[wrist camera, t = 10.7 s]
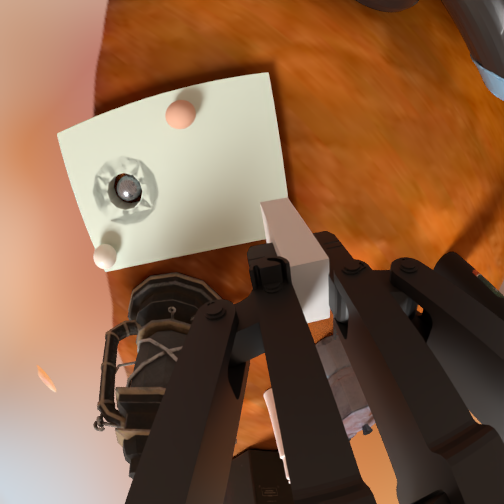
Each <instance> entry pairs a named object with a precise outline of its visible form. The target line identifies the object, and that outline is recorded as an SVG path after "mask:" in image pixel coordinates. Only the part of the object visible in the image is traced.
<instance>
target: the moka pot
mask: <svg viewBox="0 0 504 504" xmlns="http://www.w3.org/2000/svg"><path fill="white" fill-rule="evenodd" d="M316 348H317V351H318V354H319V356H320V359H321V362H322V365H323V367H324V370H325V373H326V376H327V378H328V381H329V384H330V387H331V390H332V393H333V395H334V398H335V401H336V404H337V407H338V410H339V413H340V415H341V418H342V421H343V424H344V427H345V430H346V433H347V436H348V439H349V441H350V440H351V438H352V437H354V436H355V435H356V433H357V432H358V431H361V430H363V434H364V435H367V434H370V433H371V432H372V429H371V426H372V425H373V424H375V420H374V418H373V415H372V413H371V410H370V408H369V406H368V403H367V401H366V398H365V396H364V394H363V391H362V389H361V386H360V384H359V382H358V379H357V377H356V375H355V372H354V370H353V368H352V366H351V363H350V361H349V359H348V356H347V354H346V352H345V350H344V347H343V345H342V343H341V341H340V339H339V336H338V335H337V337H336V340H334V339H333V335H332V336H329V337H326V338H324V339H322V340H321V341H319V342H318V343H317V344H316Z"/></svg>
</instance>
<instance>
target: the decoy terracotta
mask: <svg viewBox="0 0 504 504" xmlns="http://www.w3.org/2000/svg"><path fill="white" fill-rule="evenodd" d="M165 117H166V121H167V123H168V124H169V125H170V126H171V127H173V128H175V129H184V128H187V127H189V126H190V125H191V124H192V123H193V122H194V120H195V117H196V110H195V108H194V106H193V105H192V104H191V103H190V102H188V101H186V100H177V101H175V102H173V103H171V104H170V105H169V106H168V108H167V110H166V114H165Z"/></svg>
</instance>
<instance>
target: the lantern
mask: <svg viewBox="0 0 504 504" xmlns="http://www.w3.org/2000/svg"><path fill="white" fill-rule="evenodd" d="M217 299H222V298H221V297H220V296H219V295H218V294H217V293H216V292H215V291H214V290H213V289H211V288H210V287H209V286H208V285H207V284H206V283H205V282H204V281H203V280H199V279H196V278H193V277H190V276H187V275H183V274H180V273H177V272H175V273H168V274H160V275H153V276H149V277H148V278H147V279H146V280H144V281H143V282H142V283H141V284H139V285H138V286H137V287H136V288H135V289H133V291H132V295H131V299H130V304H129V309H128V311H129V313H128V318H129V321H124V322H122V323H120V324H119V325H117V326H115V327H114V328H112V329H110V330H109V331H108V332H106V334H105V339H106V341H105V349H104V356H103V363H102V364H101V370H102V373H101V383H100V394H99V402H98V406H97V409H98V410H99V411H100V412H101V414H100V416H98V417H97V421H95V422H94V428H95V429H96V430H97V431H103V430H104V429H105V428H104V427H103V426H104V425H106V426H111V427H116V428H115V431H116V436H117V441H118V443H119V444H120V445H121V446H122V447H123V453H124V456H125V460H126V461H127V462H128V463H130V470H129V477H131V478H132V479H133V478H134V475H135V472H136V469H137V466H138V464H139V461H140V458H141V455H142V452H143V449H144V447H145V444H146V441H147V438H148V436H149V433H150V430H151V427H152V425H153V422H154V419H155V417H156V414H157V411H158V409H159V406H160V403H161V401H162V398H163V395H164V393H165V390H166V388H167V385H168V382H169V380H170V377H171V375H172V372H173V369H174V367H175V364H176V362H177V359H178V357H179V354H180V352H181V349H182V347H183V344H184V342H185V339H186V337H187V334H188V332H189V329H190V327H191V324H192V322H193V319H194V317H195V315H196V312H197V311H198V309H199V308H200V307H201V306H202V305H204V304H205V303H207V302H209V301H212V300H217ZM129 335H137V339H136V344H137V346H138V349H137V352H138V354H137V358H136V361H135V362H130V363H124V364H119V365H118V366H117V367H116V357H117V346H118V344H119V341H120V340H122V339H124V338H125V337H128V336H129ZM132 364H135V367H134V371H133V373H132V374H131V375H130V377H129V378H128V380H127V386H126V387H116V389H115V390H116V400H117V407H118V410H119V411H118V410H116V409H115V403H114V387H115V374H116V372H117V370H118V369H119V367H120V366H126V365H132ZM131 380H132V381H131ZM130 385H131V386H130ZM103 416H104V418H105V419H106V421H107V422H109V423H107V422H104V421H103ZM97 424H98V426H100V427H101V428H98V427H97ZM236 443H237V439H236V441H235V444H236Z"/></svg>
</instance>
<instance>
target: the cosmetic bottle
mask: <svg viewBox="0 0 504 504" xmlns="http://www.w3.org/2000/svg"><path fill="white" fill-rule="evenodd" d="M264 399H265V401H266V404H267V407H268V410H269V414H270V417H271V421H272V425H273V430H274V434H275V438H276V443H277V447H278V451H279V455H280V458H281V459H283V463H284V468H285V473H286V478H287V479H288V480H289V484H290V479H289V474H288V469H287V464H286V459H285V454H284V449H283V444H282V438H281V433H280V428H279V423H278V418H277V413H276V408H275V402H274V397H273V392H272V388H270V389H268V390H267V391H266V392H265V393H264Z"/></svg>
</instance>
